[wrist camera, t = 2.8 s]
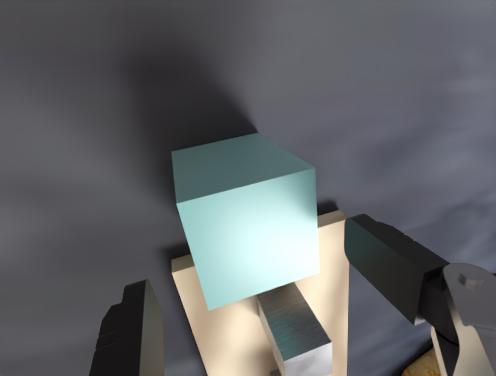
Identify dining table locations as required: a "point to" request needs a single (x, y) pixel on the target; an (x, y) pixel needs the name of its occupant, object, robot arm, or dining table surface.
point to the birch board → (247, 319)
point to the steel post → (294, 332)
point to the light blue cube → (246, 216)
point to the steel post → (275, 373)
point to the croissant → (424, 365)
